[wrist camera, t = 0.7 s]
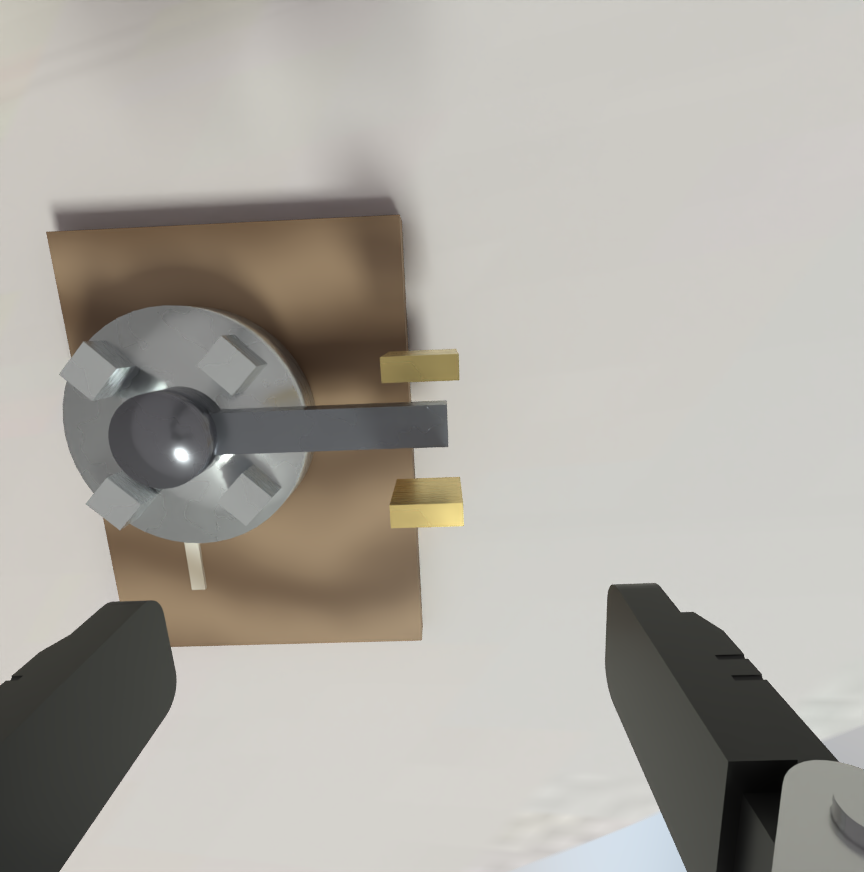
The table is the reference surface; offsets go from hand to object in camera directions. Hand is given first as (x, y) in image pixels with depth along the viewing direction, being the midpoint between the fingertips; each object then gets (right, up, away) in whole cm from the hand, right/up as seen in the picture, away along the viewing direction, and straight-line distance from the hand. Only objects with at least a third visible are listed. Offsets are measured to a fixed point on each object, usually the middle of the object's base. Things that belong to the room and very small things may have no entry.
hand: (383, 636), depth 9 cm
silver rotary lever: (-8, +5, +18) cm, 20 cm away
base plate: (-9, +3, +20) cm, 23 cm away
